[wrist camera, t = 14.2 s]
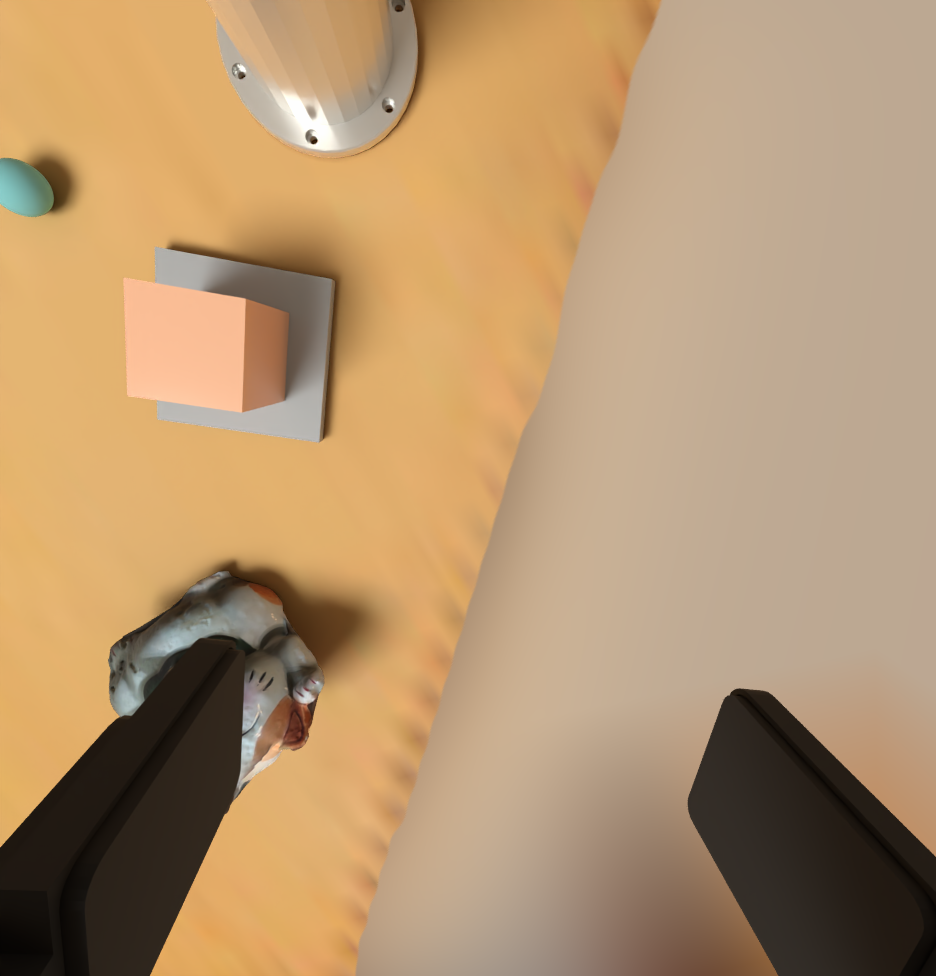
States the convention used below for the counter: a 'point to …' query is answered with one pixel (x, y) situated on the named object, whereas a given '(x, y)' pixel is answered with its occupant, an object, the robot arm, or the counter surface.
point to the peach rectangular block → (203, 348)
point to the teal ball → (24, 189)
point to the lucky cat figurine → (255, 629)
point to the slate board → (306, 341)
